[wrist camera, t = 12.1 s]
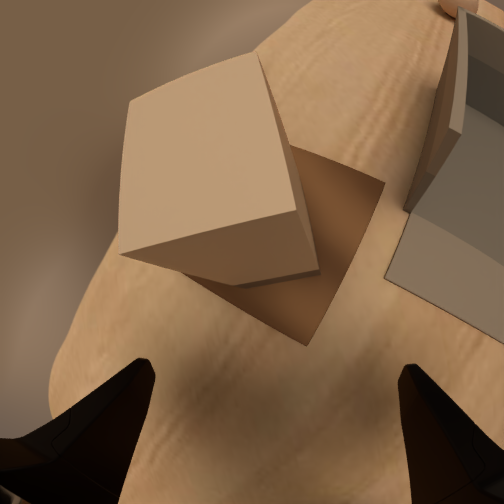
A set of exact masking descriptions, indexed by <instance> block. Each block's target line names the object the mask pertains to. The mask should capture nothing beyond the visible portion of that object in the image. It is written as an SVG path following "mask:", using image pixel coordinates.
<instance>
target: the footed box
mask: <svg viewBox="0 0 504 504" xmlns="http://www.w3.org/2000/svg"><path fill="white" fill-rule="evenodd" d="M119 197H120V198H119V228H118V248H119V255H122V256H126V257H129V258H132V259H136V260H139V261H143V262H146V263H150V264H153V265H157V266H160V267H164V268H168V269H171V270H175V271H179V272H182V273H186V274H190V275H193V276H197V277H201V278H205V279H209V280H212V281H216V282H220V283H224V284H228V285H232V286H236V287H240V288H244V289H248V288H253V287H259V286H264V285H270V284H275V283H281V282H286V281H291V280H297V279H302V278H307V277H312V276H317V275H321V272H320V267H319V262H318V256H317V251H316V246H315V241H314V236H313V232H312V227H311V222H310V218H309V213H308V208H307V204H306V200H305V195H304V191H303V187H302V184H301V180H300V177H299V174H298V170H297V167H296V164H295V160H294V157H293V154H292V151H291V148H290V145H289V141H288V138H287V135H286V132H285V129H284V126H283V123H282V120H281V117H280V114H279V111H278V109H277V106H276V103H275V100H274V97H273V94H272V92H271V89H270V86H269V83H268V81H267V78H266V75H265V73H264V70H263V68H262V65H261V62H260V60H259V57H258V55H257V52H256V51H254V52H251V53H247V54H244V55H241V56H237V57H234V58H231V59H228V60H225V61H222V62H219V63H216V64H214V65H211V66H208V67H205V68H203V69H200V70H197V71H195V72H192V73H190V74H187V75H185V76H182V77H180V78H178V79H176V80H173V81H171V82H169V83H167V84H164V85H162V86H160V87H158V88H156V89H154V90H151V91H150V92H147V93H145V94H143V95H142V96H139V97H138V98H135V99H134V100H132V101H130V104H129V110H128V116H127V123H126V130H125V138H124V147H123V156H122V167H121V180H120V196H119Z"/></svg>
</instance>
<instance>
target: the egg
mask: <svg viewBox="0 0 504 504" xmlns="http://www.w3.org/2000/svg"><path fill="white" fill-rule="evenodd" d="M438 2H439V4H440V6H441V7H442V8H443V10H444V11H445V12H446V13H447V14H449V15H450V16H452V17H454V18H456V14H457V9H458V6H460V7H462V8H465V9H467V10H469V11H471V12H473V13H475V14H476V13H477V10H478V0H438Z"/></svg>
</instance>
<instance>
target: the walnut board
mask: <svg viewBox="0 0 504 504" xmlns="http://www.w3.org/2000/svg"><path fill="white" fill-rule="evenodd" d="M290 148H291V151H292V154H293V157H294V160H295V164H296V167H297V170H298V174H299V177H300V180H301V184H302V187H303V191H304V195H305V200H306V204H307V208H308V213H309V218H310V222H311V227H312V232H313V236H314V241H315V246H316V251H317V256H318V262H319V267H320V272H321V275H317V276H312V277H307V278H302V279H297V280H291V281H286V282H281V283H275V284H270V285H264V286H259V287H253V288H248V289H244V288H240V287H236V286H232V285H228V284H224V283H220V282H216V281H212V280H209V279H205V278H201V277H197V276H193V275H190V274H186V273H183V274H184V275H186V276H188V277H189V278H191V279H192V280H194V281H195V282H197V283H199V284H200V285H202V286H203V287H205V288H207V289H208V290H210V291H212V292H213V293H215V294H216V295H218V296H220V297H221V298H223V299H225V300H226V301H228V302H230V303H231V304H233V305H235V306H236V307H238V308H240V309H241V310H243V311H245V312H246V313H248V314H250V315H252V316H253V317H255V318H257V319H258V320H260V321H262V322H264V323H265V324H267V325H269V326H271V327H272V328H274V329H276V330H278V331H279V332H281V333H283V334H285V335H287V336H288V337H290V338H292V339H294V340H296V341H297V342H299V343H301V344H303V345H305V346H307V345H308V343H309V342H310V340H311V338H312V336H313V335H314V333H315V331H316V329H317V328H318V326H319V324H320V322H321V320H322V318H323V317H324V315H325V313H326V311H327V309H328V307H329V305H330V303H331V302H332V300H333V298H334V296H335V294H336V292H337V290H338V288H339V286H340V284H341V282H342V280H343V278H344V276H345V274H346V272H347V270H348V268H349V266H350V264H351V262H352V259H353V257H354V255H355V253H356V251H357V249H358V247H359V244H360V242H361V240H362V238H363V236H364V233H365V231H366V229H367V227H368V224H369V222H370V220H371V217H372V215H373V213H374V210H375V208H376V205H377V203H378V201H379V198H380V196H381V193H382V191H383V188H384V185H385V182H382V181H380V180H378V179H376V178H373V177H371V176H369V175H367V174H364V173H362V172H360V171H357V170H355V169H353V168H350V167H348V166H345V165H343V164H340V163H338V162H335V161H333V160H330V159H327V158H325V157H322V156H320V155H317V154H314V153H311V152H309V151H306V150H303V149H300V148H297V147H294V146H291V145H290ZM181 273H182V272H181Z"/></svg>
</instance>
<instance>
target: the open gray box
mask: <svg viewBox="0 0 504 504" xmlns="http://www.w3.org/2000/svg"><path fill="white" fill-rule="evenodd" d="M403 210H404V211H406V212H408V213H410V216H409V218H408V221H407V224H406V226H405V229H404V232H403V234H402V237H401V239H400V242H399V244H398V247H397V249H396V252H395V254H394V256H393V259H392V261H391V263H390V266H389V268H388V270H387V273H386V275H385V277H384V279H386V280H388V281H390V282H392V283H394V284H396V285H398V286H400V287H401V288H403V289H405V290H407V291H409V292H411V293H413V294H415V295H417V296H419V297H420V298H422V299H424V300H426V301H428V302H430V303H432V304H433V305H435V306H437V307H439V308H441V309H443V310H444V311H446V312H448V313H450V314H452V315H454V316H455V317H457V318H459V319H461V320H462V321H464V322H466V323H468V324H470V325H471V326H473V327H475V328H477V329H478V330H480V331H482V332H484V333H485V334H487V335H489V336H491V337H492V338H494V339H496V340H497V341H499V342H501V343H502V344H504V29H503V28H501V27H499V26H498V25H496V24H494V23H492V22H490V21H489V20H487V19H485V18H483V17H481V16H479V15H477V14H475V13H473V12H471V11H469V10H467V9H465V8H462V7H460V6H458V9H457V14H456V19H455V24H454V29H453V33H452V37H451V42H450V46H449V49H448V53H447V57H446V61H445V64H444V68H443V71H442V75H441V78H440V81H439V84H438V88H437V92H436V97H435V102H434V107H433V111H432V115H431V120H430V124H429V128H428V132H427V136H426V139H425V143H424V147H423V150H422V154H421V157H420V160H419V164H418V167H417V170H416V173H415V177H414V180H413V183H412V186H411V189H410V192H409V194H408V197H407V200H406V203H405V206H404V208H403Z"/></svg>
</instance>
